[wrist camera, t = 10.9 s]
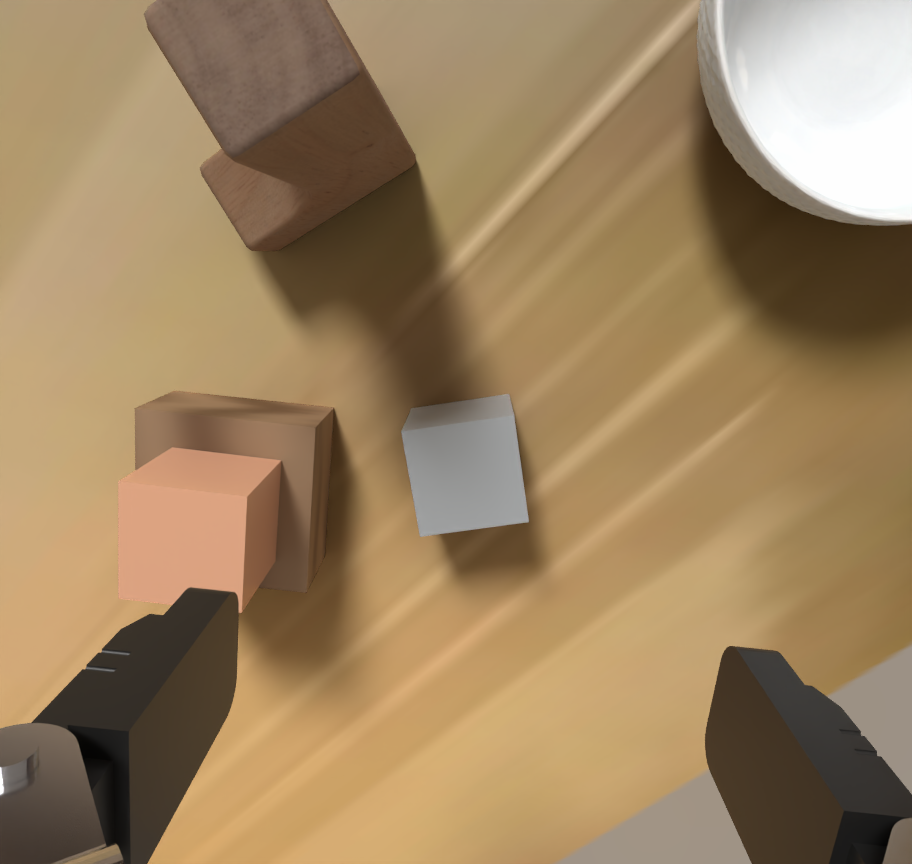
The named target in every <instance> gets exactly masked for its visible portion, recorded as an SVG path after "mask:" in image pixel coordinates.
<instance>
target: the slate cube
mask: <svg viewBox="0 0 912 864" xmlns="http://www.w3.org/2000/svg"><path fill="white" fill-rule="evenodd" d="M401 433H402V439H403V444H404V450H405V455H406V461H407V467H408V472H409V478H410V483H411V489H412V495H413V500H414V506H415V511H416V517H417V523H418V528H419V534H420V537H422V536H429V535H437V534H444V533H452V532H459V531H466V530H474V529H481V528H489V527H496V526H504V525H511V524H518V523H526V522H529V519H528V512H527V504H526V497H525V490H524V483H523V476H522V468H521V461H520V454H519V447H518V440H517V432H516V425H515V418H514V413H513V408H512V404H511V400H510V396H509V394H505V395H498V396H492V397H485V398H478V399H471V400H464V401H458V402H451V403H444V404H437V405H430V406H424V407H417V408H411V410H410V413H409V415H408V417H407V419H406V422H405V424H404V426H403V429H402V431H401Z"/></svg>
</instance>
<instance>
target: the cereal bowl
mask: <svg viewBox="0 0 912 864" xmlns="http://www.w3.org/2000/svg"><path fill="white" fill-rule="evenodd" d="M697 50H698V65H699V71H700V76H701V85H702V89H703V94H704V96H705V100H706V106H707V107H708V109H709V112H710V116H711V118H712V119H713V124H714V127H715V128H716V129H717V130H718V133H719V135H720V136H721V138H722V141H723V144H724V145H725V146H726V147H727V148H728V150H729V152H730V153H731V154H732V155H733V157H734V159H735V161H736V162H737V163H739V164H740V165H741V167H742V168H743V169H744V170H745V171H746V173H747V175H748V176H750V177H752V178H753V179H754V180H755V181H756V182H757V183H758V184H760V185H761V186H762V188H763V189H765V190H767V191H769V192H770V193H771V194H772V195H773V196H775V197H777V198H778V199H779V200H781V201H784V202H786V203H787V204H788V205H790V206H793V207H796V208H798V209H800V210H801V211H804V212H808V213H810V214H812V215H816V216H820V217H822V218H824V219H829V220H835V221H838V222H844V223H852V224H860V225H876V226H881V225H885V226H889V225H907V224H912V0H701V2H700V9H699V16H698V32H697Z"/></svg>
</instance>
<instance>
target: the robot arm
mask: <svg viewBox="0 0 912 864" xmlns="http://www.w3.org/2000/svg"><path fill="white" fill-rule="evenodd" d="M238 616H239V602H238V596H237V594H236V593H235V592H231V591H221V590H212V589H202V588H193V587H189V588H187V589H186V590H185V591H184V592H183V594H182V595H181V596H180V597H179V598H178V599H177V600H176V602H175V603H174V604H173V605H172V606H171V607H170V608H169V610H168V611H167V612H166V613H165V614H164V615H155V614H149V615H147V616H145V617H143V618H141V619H139V620H138V621H136V622H134V623H132V624H130V625H128V626H126V627H124V628H122V629H121V630H120V631H119V632H118V633H117V634H116V635H115V636H114V637H113V638H112V639H111V640H110V641H109V642H108V643H107V644H106V645H105V646H104V648H103V649H102V652H101V653H98V654H97V655H96V656H95V657H94V658H93V659H92V660H91V661H90V662H89V663H88V664H87V667H86V669H85V670H84V669H82V670H81V672H80V673H79V674H78V675H77V676H76V677H75V678H74V679H73V680H72V681H71V682H70V683H69V684H68V685H67V686H66V687H65V688H64V689H63V690H62V691H61V692H60V693H59V694H58V696H57V697H56V698H55V699H54V700H53V701H52V702H51V703H50V704H49V705H48V706H47V707H46V708H45V709H44V710H43V711H42V712H41V713H40V714H39V715H38V716H37V717H36V718H35V720H34V721H33V722H32V723H27V724H19V725H13V726H9V727H5V728H1V729H0V864H147V863H148V861H149V859H150V858H151V856H152V854H153V852H154V850H155V848H156V847H157V845H158V843H159V841H160V839H161V837H162V835H163V834H164V832H165V830H166V828H167V826H168V824H169V823H170V821H171V819H172V817H173V815H174V813H175V812H176V810H177V808H178V806H179V804H180V802H181V801H182V799H183V797H184V795H185V793H186V791H187V790H188V788H189V786H190V784H191V782H192V780H193V779H194V777H195V775H196V773H197V771H198V769H199V768H200V766H201V764H202V762H203V760H204V758H205V756H206V755H207V753H208V751H209V749H210V747H211V745H212V744H213V742H214V740H215V738H216V736H217V734H218V733H219V731H220V729H221V727H222V725H223V723H224V722H225V720H226V718H227V716H228V713H229V711H230V708H231V705H232V701H233V697H234V693H235V687H236V679H237V651H238ZM705 750H706V758H707V763H708V767H709V770H710V772H711V774H712V777H713V779H714V781H715V783H716V786H717V788H718V790H719V792H720V794H721V797H722V799H723V801H724V803H725V805H726V808H727V810H728V812H729V814H730V816H731V819H732V821H733V823H734V825H735V827H736V829H737V832H738V834H739V836H740V838H741V841H742V843H743V845H744V847H745V849H746V852H747V854H748V856H749V858H750V861H751V863H752V864H912V794H911V793H910V792H909V790H908V789H907V788H906V787H905V786H904V784H903V783H902V782H901V781H900V779H899V778H898V777H897V776H896V775H895V773H894V772H893V771H892V770H891V768H890V767H889V766H888V765H887V764H886V762H885V761H884V760H883V758H882V757H879V756H877V751H876V750H875V749H874V747H873V746H872V745H871V744H870V742H869V741H868V740H867V739H866V738H865V736H861V731H860V730H859V729H858V727H857V726H856V725H855V724H854V723H853V721H852V720H851V719H850V718H849V716H848V715H847V714H846V713H845V712H844V710H843V709H842V708H841V707H840V706H839V705H837V704H836V703H834V702H833V701H832V700H830V699H829V698H828V697H826V696H825V695H824V694H822V693H821V692H819V691H818V690H817V689H815V688H814V687H813V686H808V685H804V683H803V682H802V681H801V680H800V678H799V677H798V676H797V674H796V673H795V672H794V670H793V669H792V668H791V666H790V665H789V664H788V663H787V661H786V660H785V659H784V657H783V656H782V655H781V654H780V653H779V652H777V651H773V650H764V649H754V648H745V647H735V646H729V647H728V648H726V650H725V651H724V653H723V655H722V658H721V662H720V667H719V671H718V676H717V681H716V685H715V690H714V694H713V699H712V704H711V708H710V713H709V717H708V722H707V727H706V734H705Z"/></svg>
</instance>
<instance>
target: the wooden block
mask: <svg viewBox="0 0 912 864" xmlns="http://www.w3.org/2000/svg"><path fill="white" fill-rule="evenodd" d="M144 16H145V19H146V22H147V27H148V30H149V31H150V33H151V34H152V36H153V38H154V39H155V41H156V43H157V44H158V46H159V47H160V49H161V51H162V52H163V54H164V56H165V57H166V59H167V60H168V62H169V64H170V65H171V67H172V69H173V70H174V72H175V73H176V75H177V77H178V78H179V80H180V81H181V83H182V85H183V86H184V88H185V90H186V91H187V93H188V94H189V96H190V98H191V99H192V101H193V103H194V104H195V106H196V107H197V109H198V111H199V112H200V114H201V115H202V117H203V119H204V120H205V122H206V124H207V125H208V127H209V128H210V130H211V132H212V133H213V135H214V137H215V138H216V140H217V141H218V143H219V145H220V146H221V148H222V149H221V150H219V151H218V152H217V153H215V154H214V155H213V156H211V157H210V158H209V159H207V160H206V161H205V162H203V164H202V165H201V167H200V171H201V174H202V176H203V178H204V179H205V181H206V183H207V184H208V186H209V187H210V189H211V191H212V192H213V194H214V195H215V197H216V199H217V200H218V202H219V203H220V205H221V207H222V208H223V210H224V211H225V213H226V215H227V216H228V218H229V219H230V221H231V223H232V224H233V226H234V227H235V229H236V231H237V232H238V234H239V235H240V237H241V239H242V240H243V242H244V243H245V245H246V247H248V248H249V249H250V250H252V251H277V250H280V249H282V248H284V247H285V246H287V245H288V244H290V243H292V242H293V241H295V240H296V239H298V238H300V237H301V236H303V235H304V234H306V233H308V232H309V231H311V230H312V229H314V228H316V227H317V226H319V225H320V224H322V223H323V222H325V221H327V220H328V219H330V218H331V217H333V216H335V215H336V214H338V213H339V212H341V211H343V210H344V209H346V208H347V207H349V206H351V205H352V204H354V203H355V202H357V201H358V200H360V199H362V198H363V197H365V196H366V195H368V194H370V193H371V192H373V191H374V190H376V189H378V188H379V187H381V186H382V185H384V184H385V183H387V182H389V181H390V180H392V179H393V178H395V177H397V176H398V175H400V174H401V173H403V172H405V171H406V170H408V169H409V168H411V167H412V166H413V165H414V164H415V162H416V157H415V154H414V152H413V150H412V148H411V147H410V145H409V143H408V141H407V139H406V138H405V136H404V134H403V132H402V130H401V129H400V127H399V125H398V123H397V122H396V120H395V118H394V116H393V114H392V113H391V111H390V109H389V107H388V105H387V104H386V102H385V100H384V98H383V97H382V95H381V93H380V91H379V89H378V88H377V86H376V84H375V82H374V81H373V79H372V77H371V76H370V74H369V72H368V70H367V69H366V67H365V65H364V63H363V62H362V60H361V58H360V57H359V55H358V53H357V51H356V50H355V48H354V46H353V44H352V43H351V41H350V39H349V37H348V36H347V34H346V32H345V31H344V29H343V27H342V25H341V24H340V22H339V20H338V18H337V17H336V15H335V13H334V12H333V10H332V8H331V6H330V5H329V3H328V1H327V0H157V1H156V2H154V3H153V4H151V5H150V6H149V7H148V8H147V10H146V11H145V13H144Z"/></svg>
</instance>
